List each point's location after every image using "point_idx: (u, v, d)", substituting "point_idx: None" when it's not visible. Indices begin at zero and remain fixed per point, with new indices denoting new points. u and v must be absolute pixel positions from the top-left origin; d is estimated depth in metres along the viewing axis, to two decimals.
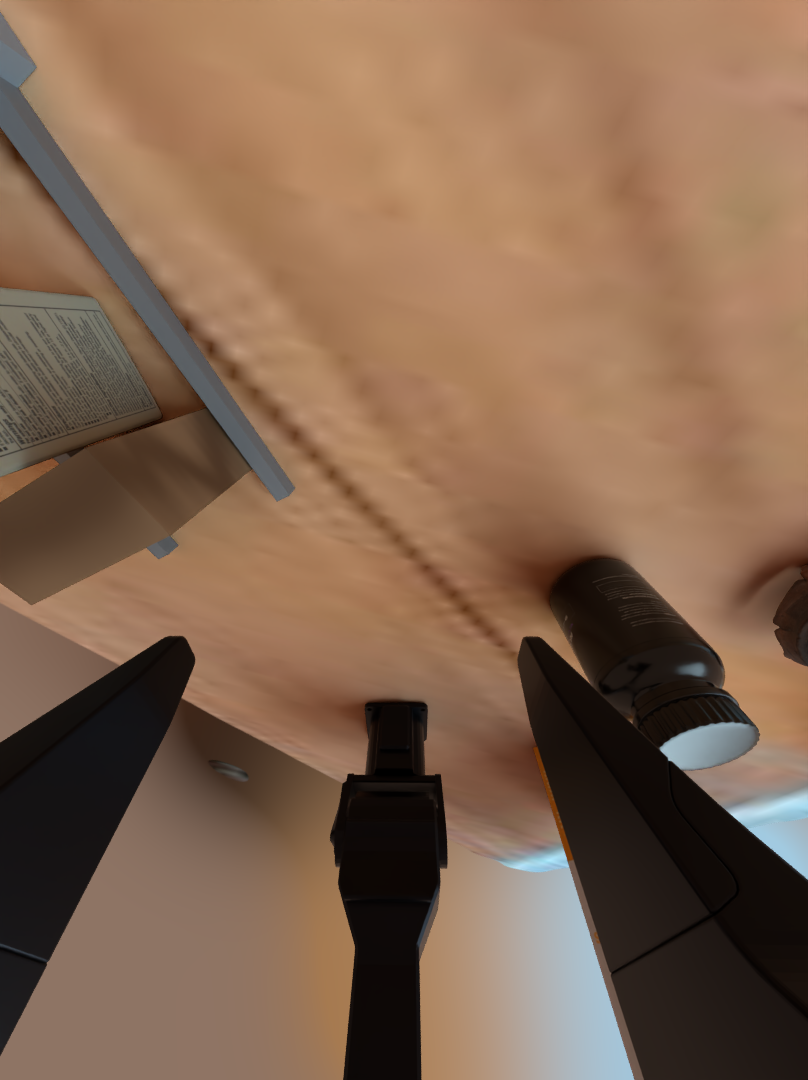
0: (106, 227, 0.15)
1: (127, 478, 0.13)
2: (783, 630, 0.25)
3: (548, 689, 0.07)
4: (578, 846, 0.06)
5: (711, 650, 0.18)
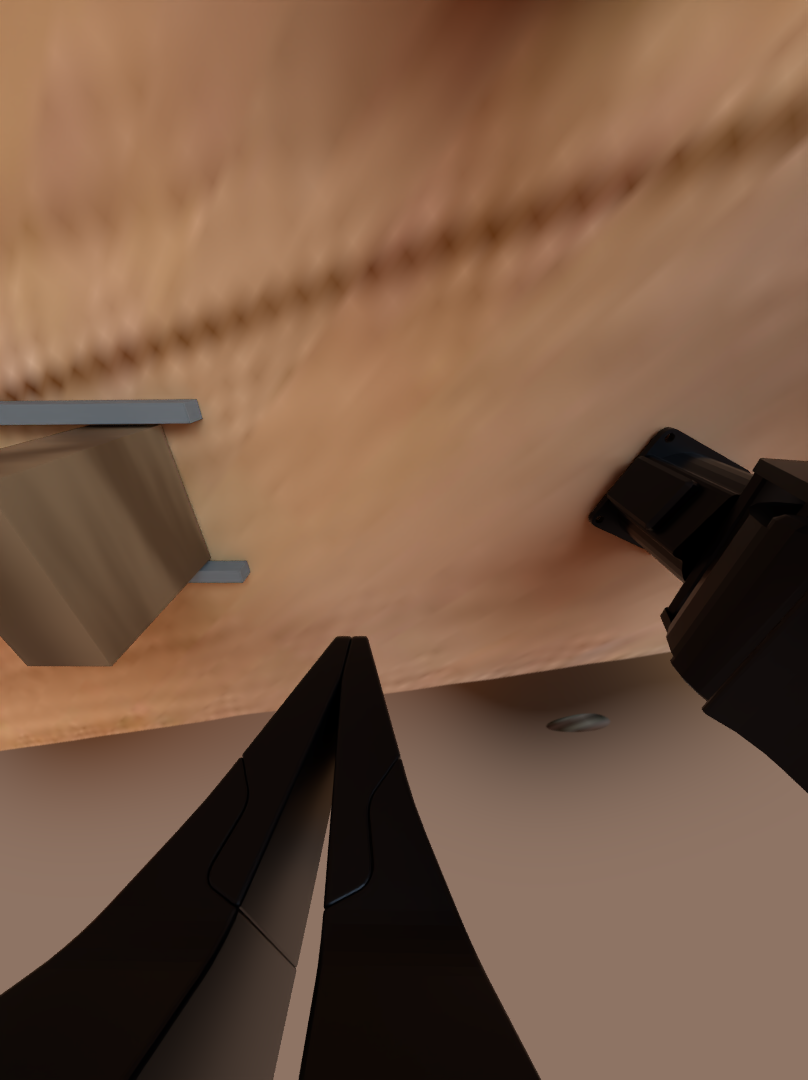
0: None
1: None
2: None
3: None
4: None
5: None
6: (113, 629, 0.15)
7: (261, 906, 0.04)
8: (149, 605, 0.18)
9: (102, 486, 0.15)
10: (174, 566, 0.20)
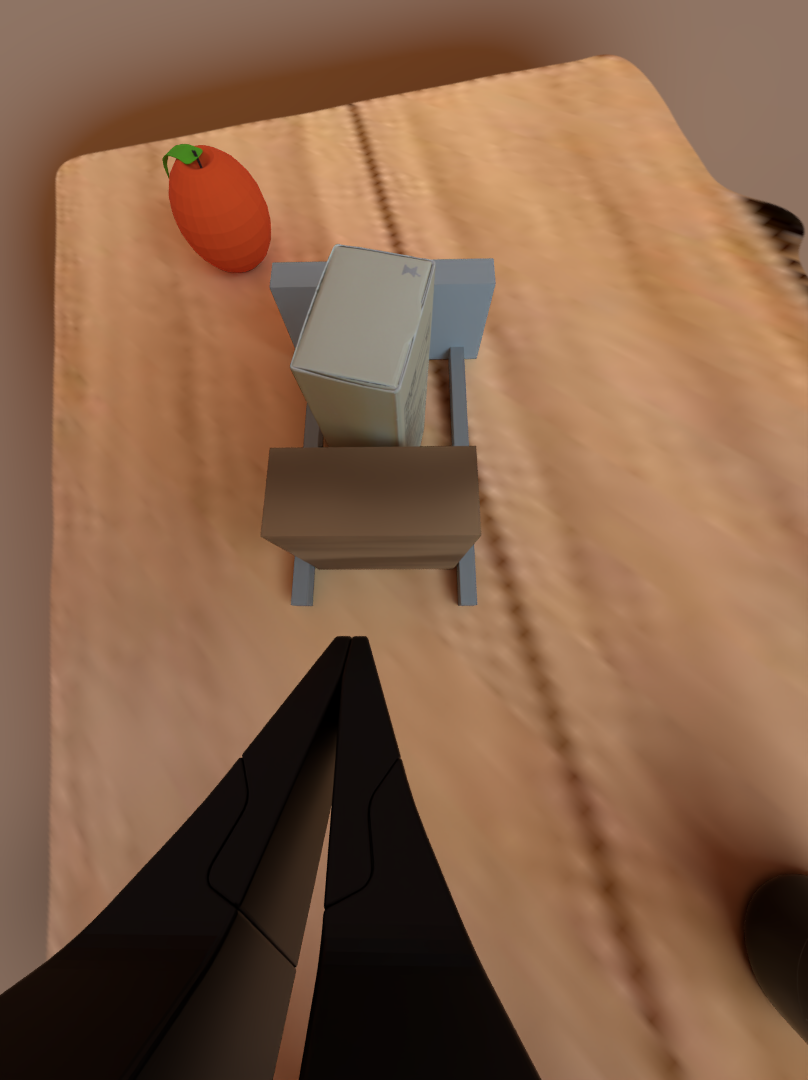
0: None
1: None
2: None
3: None
4: None
5: None
6: (302, 541, 0.14)
7: (261, 906, 0.04)
8: (305, 552, 0.17)
9: (434, 554, 0.17)
10: (330, 560, 0.19)
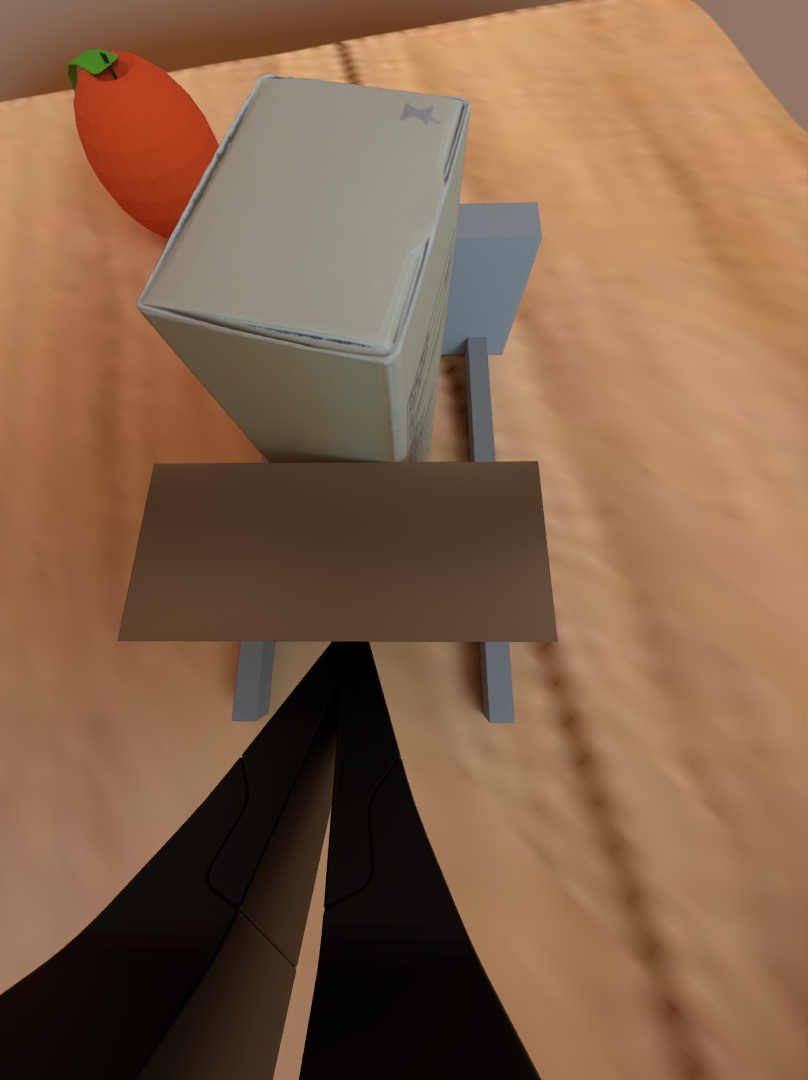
0: None
1: None
2: None
3: None
4: None
5: None
6: None
7: (261, 906, 0.04)
8: None
9: None
10: None
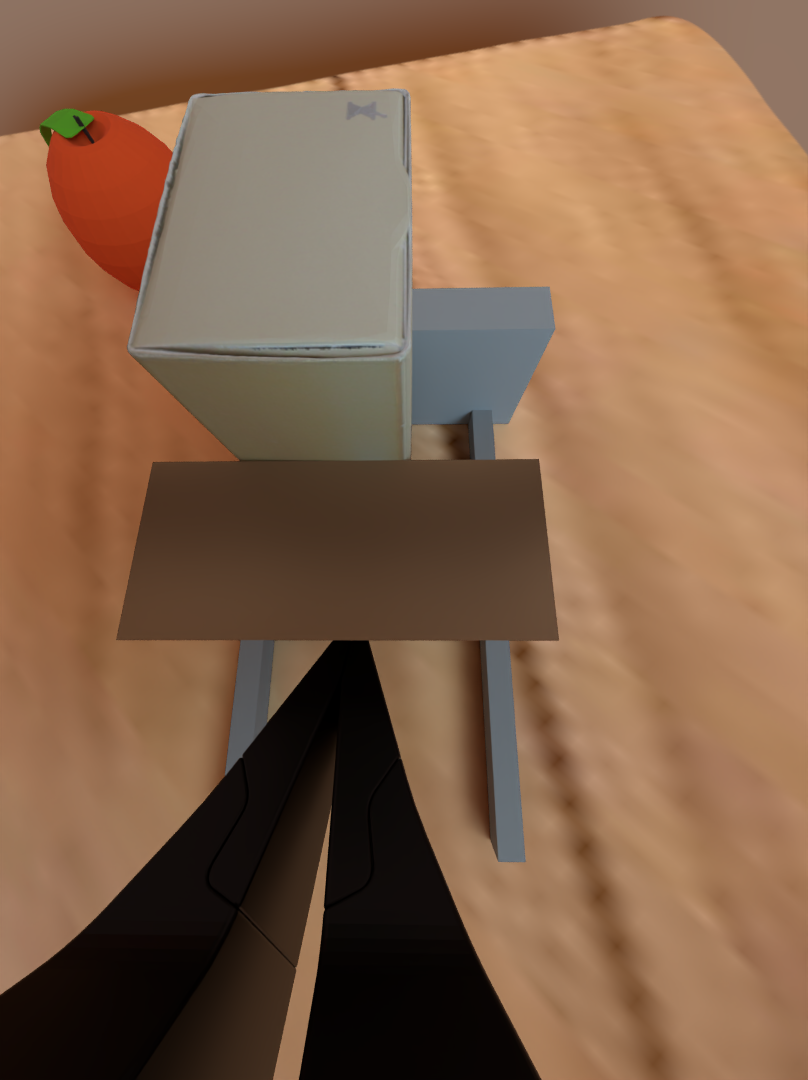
0: None
1: None
2: None
3: None
4: None
5: None
6: None
7: (261, 906, 0.04)
8: None
9: None
10: None
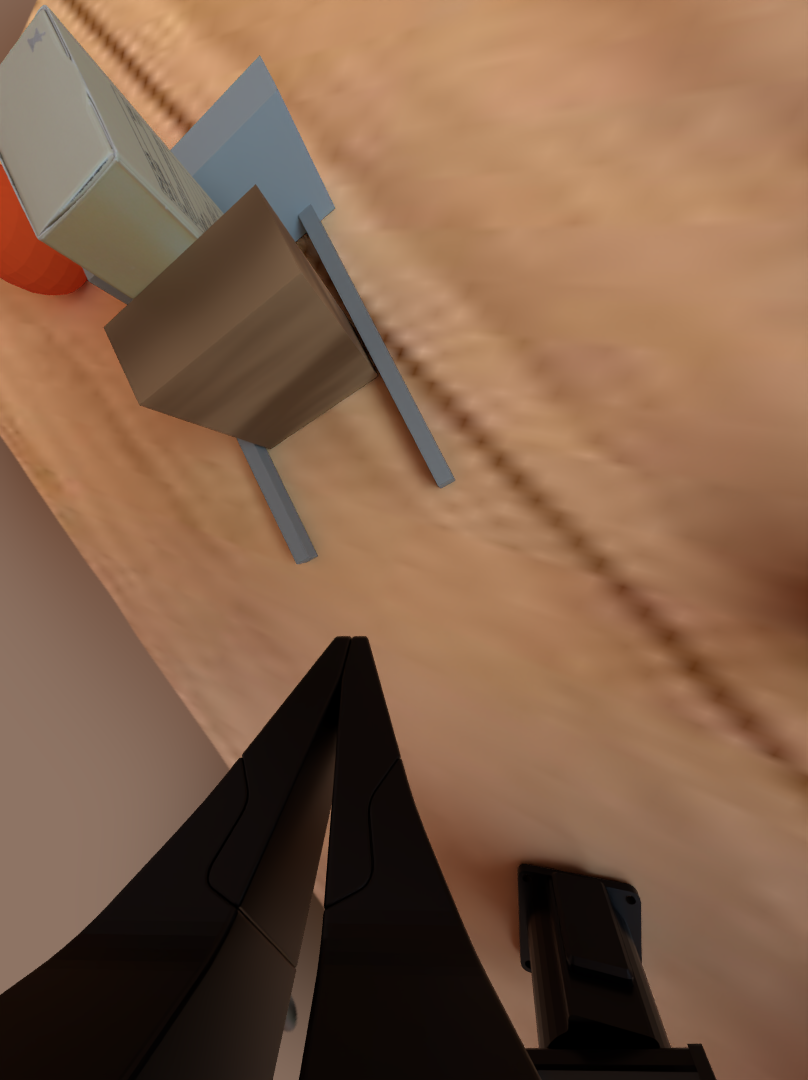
0: (348, 275, 0.20)
1: (278, 225, 0.13)
2: None
3: None
4: None
5: None
6: (181, 395, 0.15)
7: (260, 906, 0.04)
8: (212, 416, 0.17)
9: (318, 350, 0.16)
10: (255, 424, 0.20)
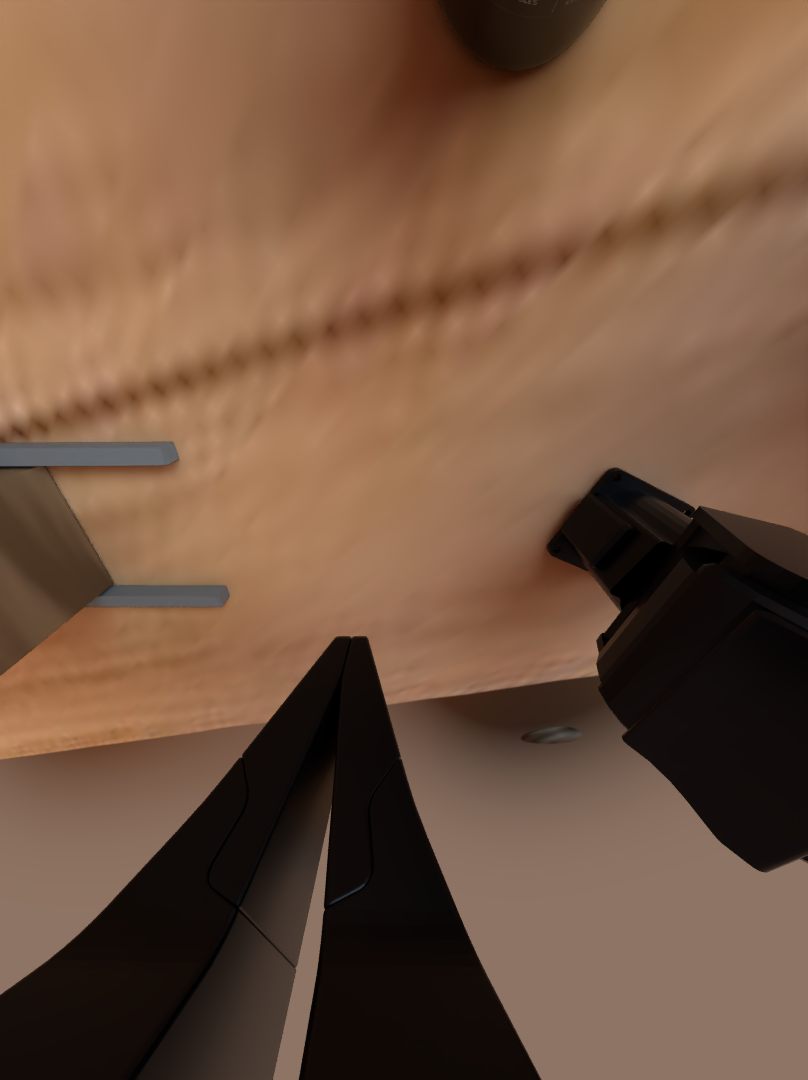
0: None
1: None
2: None
3: None
4: None
5: None
6: None
7: (261, 906, 0.04)
8: (28, 634, 0.19)
9: None
10: (63, 595, 0.21)
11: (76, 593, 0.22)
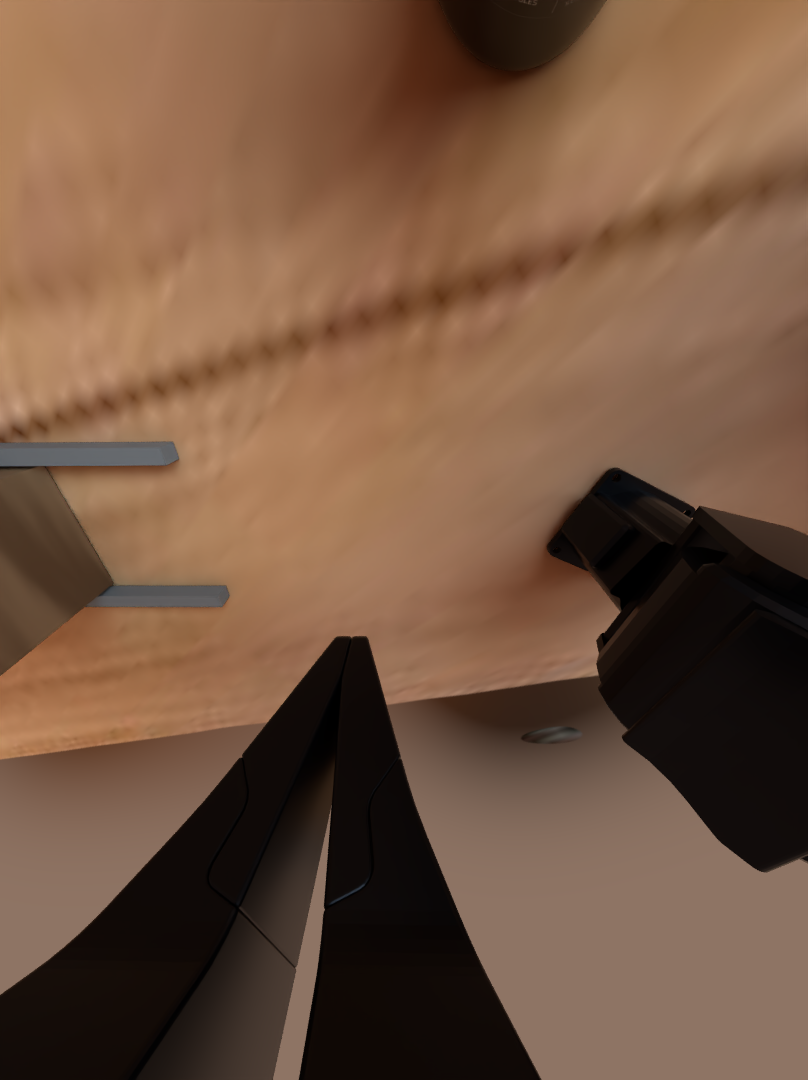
0: None
1: None
2: None
3: None
4: None
5: None
6: None
7: (261, 906, 0.04)
8: (28, 634, 0.19)
9: None
10: (63, 595, 0.21)
11: (76, 593, 0.22)
